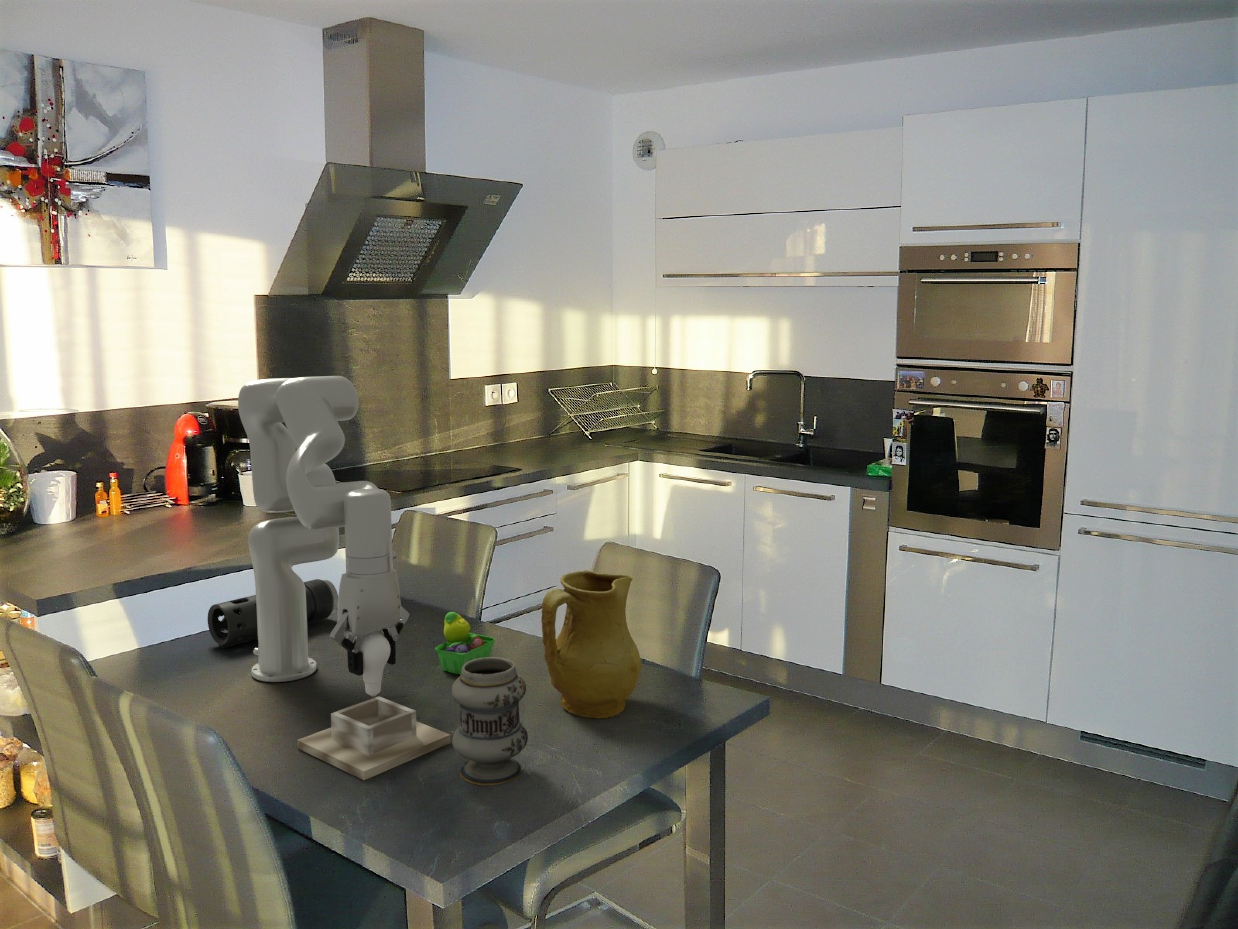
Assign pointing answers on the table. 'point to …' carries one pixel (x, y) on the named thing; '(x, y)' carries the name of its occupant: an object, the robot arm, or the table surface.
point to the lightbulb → (374, 661)
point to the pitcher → (591, 644)
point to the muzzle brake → (244, 613)
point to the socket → (373, 738)
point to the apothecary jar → (489, 720)
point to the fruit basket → (461, 644)
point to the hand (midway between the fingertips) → (372, 667)
